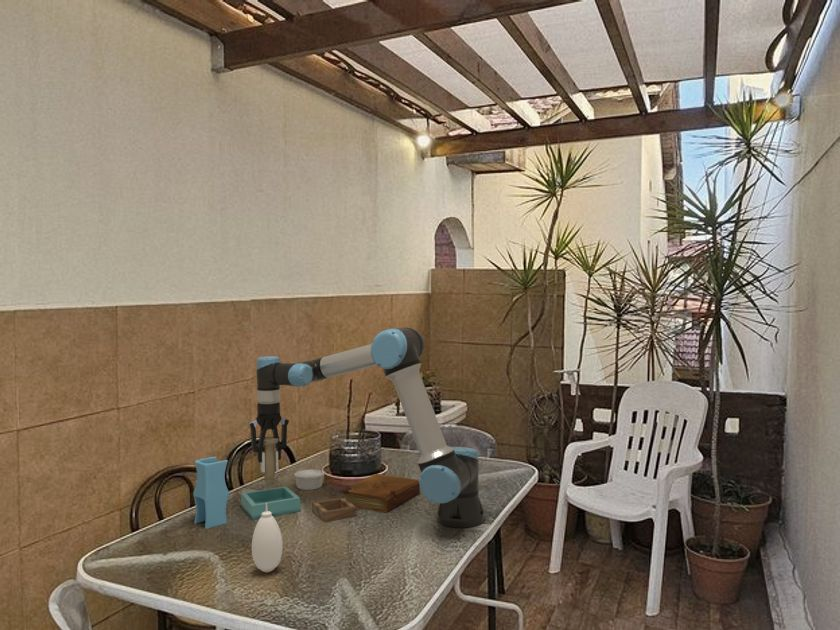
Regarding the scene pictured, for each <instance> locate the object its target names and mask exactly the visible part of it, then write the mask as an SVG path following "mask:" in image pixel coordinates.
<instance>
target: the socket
mask: <svg viewBox="0 0 840 630" xmlns="http://www.w3.org/2000/svg"><path fill="white" fill-rule="evenodd" d="M311 508H312V509H311V510H312V511H311V512H312V513H314V514H315V515H316V516H317V517H318V518H319V519H320V520H322V521H323V522H324V523H327V522H332V521H337V520H338V521H339V520H343V519H349V518H353V517H355V518H356V517H357V516H358V513H357V511H358V510H357V509H358V508H357V507H356V506H354V505H353V504H352V503H350V502H349V501H347V500H346V499H345V498H343V496H342V497H337V498H329V499H325V500H324V499H323V500H320V501H319V500H318V501H313V502H312V504H311Z"/></svg>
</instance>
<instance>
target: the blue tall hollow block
mask: <svg viewBox="0 0 840 630" xmlns="http://www.w3.org/2000/svg"><path fill="white" fill-rule="evenodd" d="M228 461H229V460H228V459H225V460H219V461H217V456H212V457H210V456H209V457H206V458H205V457H204V458H201V459H196V460H194V464H195V468H196V476H197V477H196V482H195V483H196V484H195V487H194V490H193V491H192V492H193V494H192V495H193V498H194V502H195V518H194V521H193V524H194V525H197V524H200V523H202V522H205V523H204V529H205V530H208V529H212V528H214V527H218V526H222V525H224V524H227V523H228V519H227V504H228V499H229V495H230V492H229V489H228V487H227V484H226V480H225V479H226V478H225V475H226V469H227V465H228Z"/></svg>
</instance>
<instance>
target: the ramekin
mask: <svg viewBox="0 0 840 630" xmlns="http://www.w3.org/2000/svg"><path fill="white" fill-rule="evenodd" d="M293 477H294V478H295V480H294V481H295V485H296V487H297V489H299V490H302V491H313V490H317V489H320V488H321V487H322V486H323V482H324V477H325V472H324V471H323V470H319V469H302V470H299V471H295V473H294V476H293Z"/></svg>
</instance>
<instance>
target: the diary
mask: <svg viewBox="0 0 840 630" xmlns="http://www.w3.org/2000/svg"><path fill="white" fill-rule="evenodd" d="M420 492H421V489H420V485H419V479H417V478H416V479H415V478H406V477H401V476H393V475H387V474H379V473H375V474H373V475H371V476H369V477H367V478H364V479H362V480H360V481H358V482H356V483H353V484H351V485H349V486H347V487H346V486H345V488H342V489H340V494H342V497H343V498H345V499H346V500H347V501H349V502H350V503H352V504H353V505H354V506H356V507H357V509H361V510H368V511H374V512H379V513H388V512H389V511H391V510H393V509H395V508H397V507H398V506H400V505H402V504H404V503H406V502H408V501H409V500H411V499H413V498H414V497H415V496H418V495H420V494H421V493H420Z"/></svg>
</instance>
